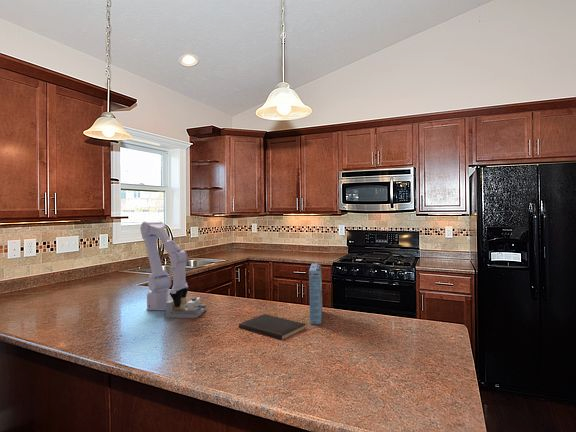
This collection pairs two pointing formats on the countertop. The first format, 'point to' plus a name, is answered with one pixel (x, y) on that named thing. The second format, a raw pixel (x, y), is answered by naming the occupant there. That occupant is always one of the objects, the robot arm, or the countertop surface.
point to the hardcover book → (272, 326)
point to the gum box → (315, 293)
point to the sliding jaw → (194, 304)
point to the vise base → (184, 313)
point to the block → (181, 305)
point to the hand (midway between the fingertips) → (179, 305)
